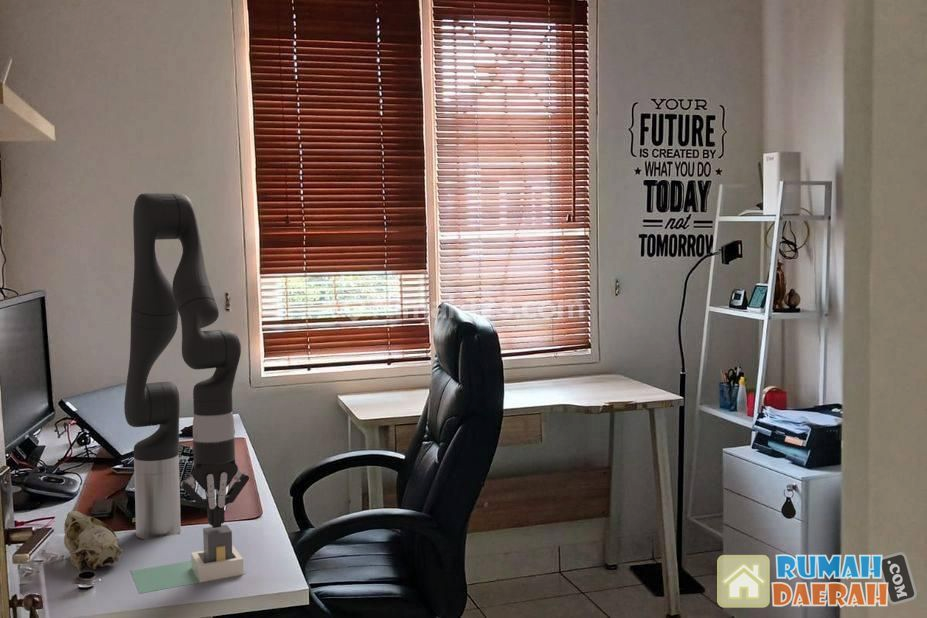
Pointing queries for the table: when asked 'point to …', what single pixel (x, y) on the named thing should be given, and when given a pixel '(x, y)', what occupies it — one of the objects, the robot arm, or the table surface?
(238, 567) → the frame
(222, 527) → the plug
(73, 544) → the skull
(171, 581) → the board
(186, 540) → the table surface
